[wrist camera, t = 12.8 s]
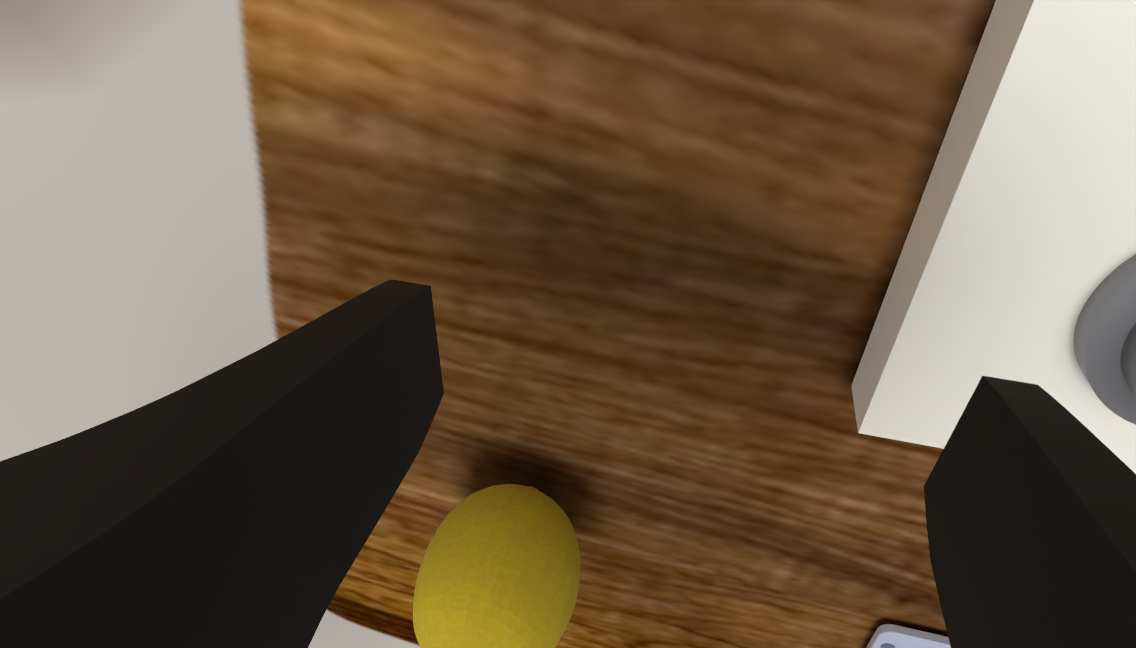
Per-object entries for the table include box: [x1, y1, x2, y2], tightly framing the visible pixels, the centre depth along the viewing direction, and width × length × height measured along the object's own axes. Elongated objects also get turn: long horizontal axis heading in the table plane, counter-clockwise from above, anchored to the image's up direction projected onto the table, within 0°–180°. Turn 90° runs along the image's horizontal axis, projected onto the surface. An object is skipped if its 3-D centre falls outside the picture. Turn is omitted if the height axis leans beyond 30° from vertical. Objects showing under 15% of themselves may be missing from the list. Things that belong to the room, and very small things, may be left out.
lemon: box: [413, 484, 581, 648], centre depth 23 cm, size 6×6×8 cm
